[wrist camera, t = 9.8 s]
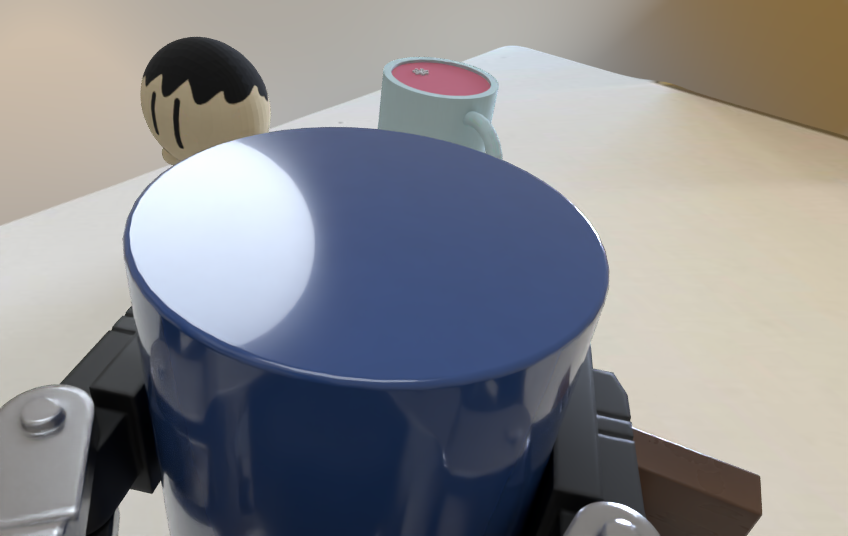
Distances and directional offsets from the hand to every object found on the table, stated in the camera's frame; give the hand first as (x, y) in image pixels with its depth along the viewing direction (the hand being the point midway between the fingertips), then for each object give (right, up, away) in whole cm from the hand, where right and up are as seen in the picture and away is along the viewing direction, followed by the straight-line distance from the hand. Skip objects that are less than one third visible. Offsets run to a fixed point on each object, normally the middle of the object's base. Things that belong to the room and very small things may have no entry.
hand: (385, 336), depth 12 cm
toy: (-14, +2, +32) cm, 35 cm away
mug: (+2, +7, +43) cm, 43 cm away
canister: (-1, -6, +1) cm, 6 cm away
